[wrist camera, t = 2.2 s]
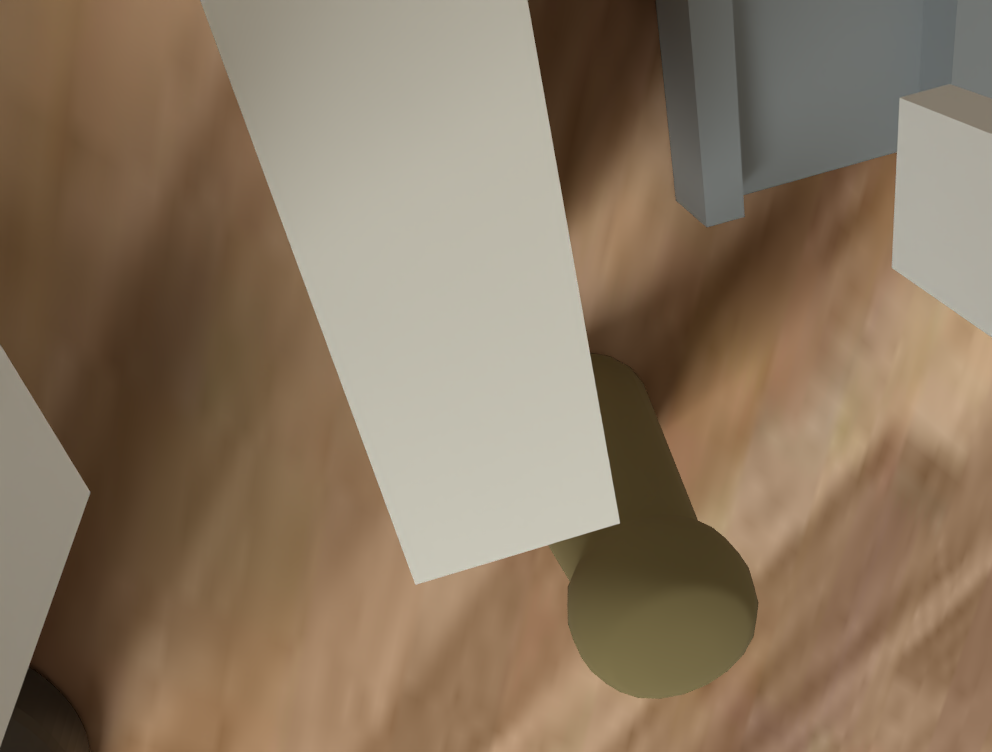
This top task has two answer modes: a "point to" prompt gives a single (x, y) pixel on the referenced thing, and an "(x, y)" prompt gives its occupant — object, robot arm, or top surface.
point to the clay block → (432, 259)
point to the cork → (652, 564)
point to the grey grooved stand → (802, 85)
